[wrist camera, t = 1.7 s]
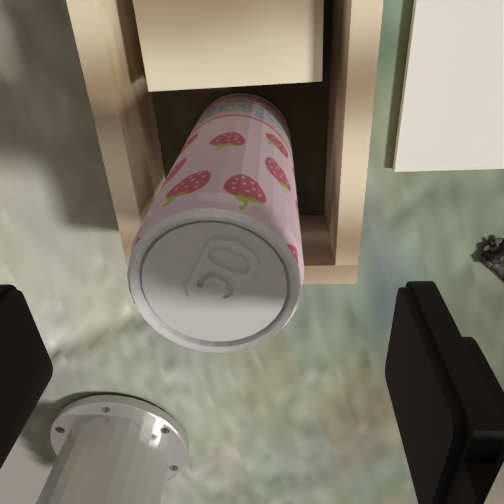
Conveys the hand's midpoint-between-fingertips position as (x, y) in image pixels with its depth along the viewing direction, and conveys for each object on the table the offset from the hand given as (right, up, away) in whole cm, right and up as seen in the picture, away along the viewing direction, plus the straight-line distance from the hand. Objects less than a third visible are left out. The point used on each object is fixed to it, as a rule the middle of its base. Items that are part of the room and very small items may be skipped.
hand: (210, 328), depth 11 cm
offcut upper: (0, +13, +10) cm, 16 cm away
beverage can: (+1, +9, +15) cm, 17 cm away
